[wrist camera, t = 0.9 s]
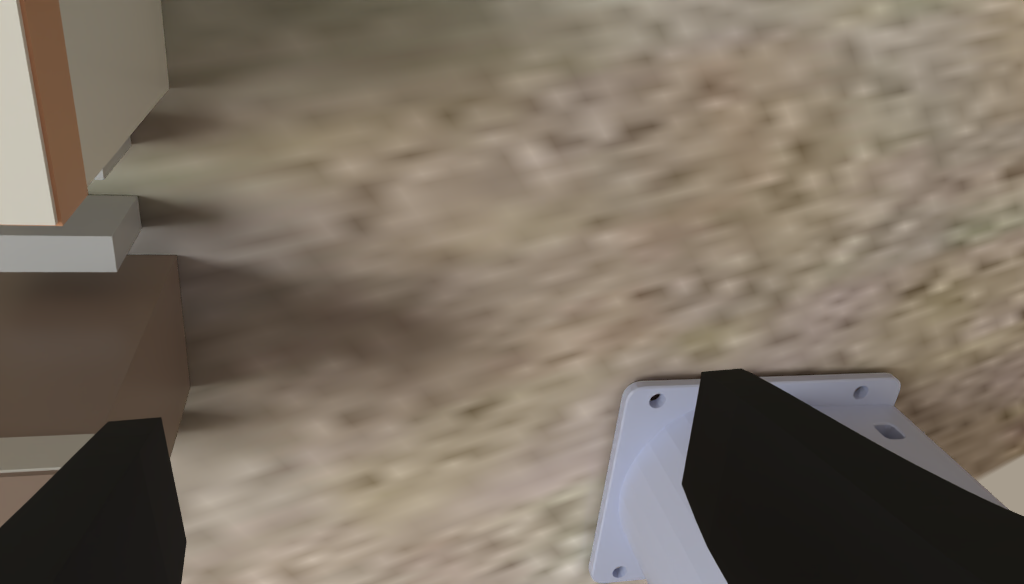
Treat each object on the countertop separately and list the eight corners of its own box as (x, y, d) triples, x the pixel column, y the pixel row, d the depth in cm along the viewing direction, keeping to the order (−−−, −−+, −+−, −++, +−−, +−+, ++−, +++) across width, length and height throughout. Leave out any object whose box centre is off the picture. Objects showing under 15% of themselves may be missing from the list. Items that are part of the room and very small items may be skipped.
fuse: (179, 253, 18) (86, 470, 11) (192, 388, 20) (120, 648, 13) (-4, 252, 18) (-223, 486, 11) (27, 393, 19) (-145, 674, 12)
